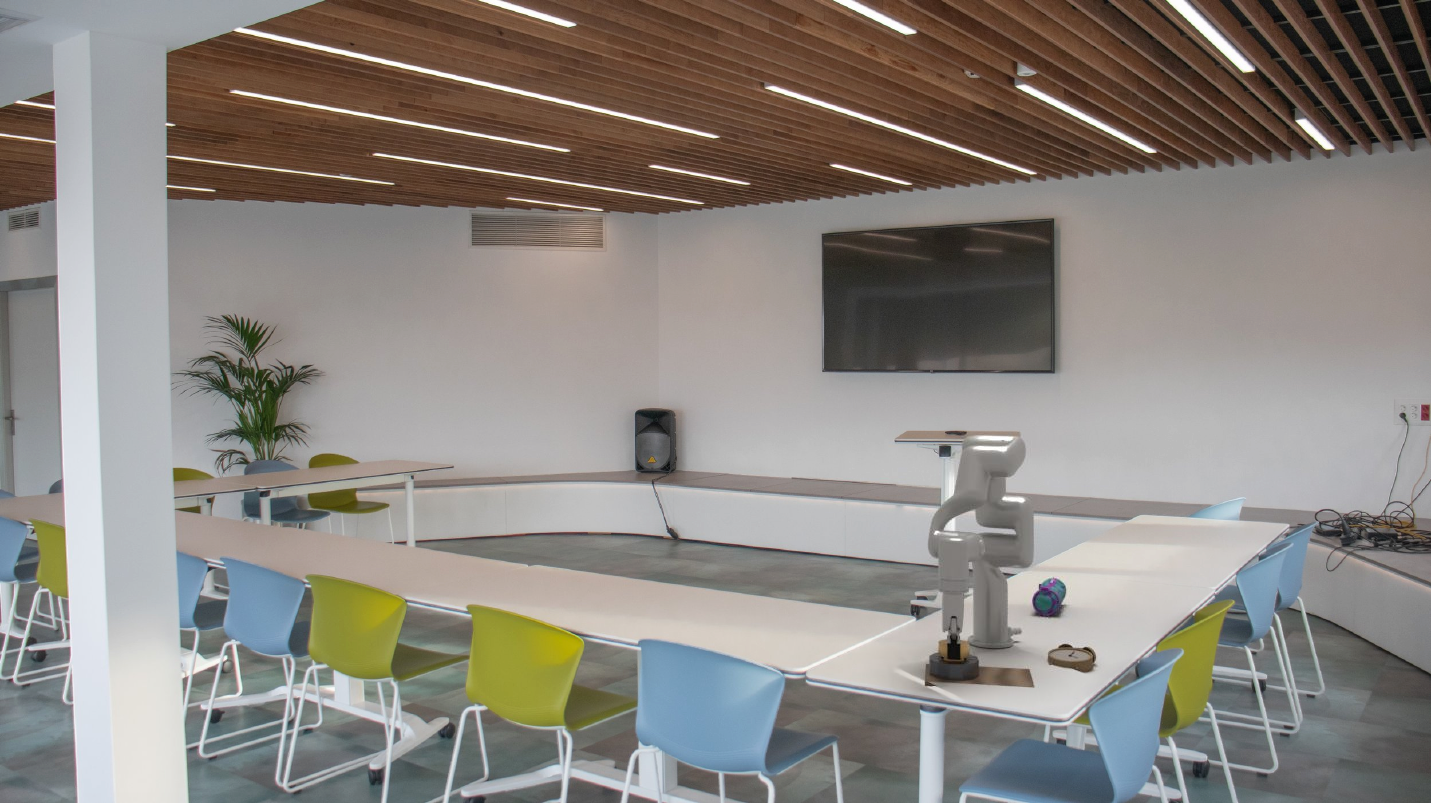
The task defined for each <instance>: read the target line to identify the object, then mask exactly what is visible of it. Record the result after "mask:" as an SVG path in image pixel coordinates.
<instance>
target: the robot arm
mask: <svg viewBox="0 0 1431 803" xmlns="http://www.w3.org/2000/svg"><path fill="white" fill-rule="evenodd" d="M961 450H962V452H961V455H960V458H959V465H958V469H957V470H958V471H957V475H956V480H955V485H954V486H955V487H954V493H953V495H951V496H950V497H949V498H947V499H946V501H944V502H942V504H941V505H940V506H939V508H937V510H936V512H934V515H933V517H932V519H931V522H930V528H929V533H928V539H927V550H928V553H929V555H930V556H931V557H932V558H934V559H937V561H938V562H937V563H938V570H937V571H938V572H937V573H938V574H937V576H938V577H937V578H938V582H937V584H938V587H937V588H938V589H937V590H938V592H940V593H942V596H941V599H942V600H941V622H942V623H941V627H942V629H941V631H942V632H943V633H946V632H947V635H946V636H947V638H946V639H948V643H947V659H949V660H960V659H961V658H960V644H959V640H961V635H960V634H961V633H962V632H963V627H964V618H965V617H964V613H965V611H964V610H965V594H968V593H969V592H970V582H969V581H970V575H969V574H970V564H969V563H971V566H972V583H973V586H972V587H973V589H972V591H973V592H972V594H973V595H972V598H973V599H972V602H973V603H972V610H973V611H972V612H973V613H972V615H973V618H972V620H973V623H972V624H973V625H972V627H973V628H972V629H973V631H972V635H970V636H969V635H968V637H967V642H968V643H969V645H972V646H975V647H979V648H984V649H985V648H986V649H1005V648H1011V647H1012V646H1013V645H1014V639H1013V638H1012V637H1013V636H1017V635H1019V636H1020V635H1021V634H1022V633H1023V631H1022V630H1023V629H1021V627H1013V628H1012V627H1011V626H1009V623H1008V622H1009V621H1008V620H1009V619H1008V618H1009V616H1008V614H1009V612H1008V611H1009V608H1008V606H1009V603H1008V601H1009V600H1008V599H1009V593H1008V591H1009V590H1008V589H1009V588H1008V580H1007V578H1006V576H1005V575H1004V573H1003V572H1002V570H1001V568H1007V569H1008V568H1010V569H1019V570H1020V569H1021V570H1022V569H1023V570H1024V569H1028V568H1029V567H1031V566H1032V564H1033V561H1034V552H1035V550H1034V548H1035V546H1034V545H1035V544H1034V543H1035V542H1034V541H1035V540H1034V539H1035V534H1034V532H1035V531H1034V530H1035V529H1034V528H1035V527H1034V526H1035V525H1034V524H1035V522H1034V521H1035V520H1034V518H1035V517H1034V506H1033V504H1032V501H1031V499H1030V498H1028V497H1026V496H1023V495H1011V494H1010V495H1009V494H1008V493H1007V478H1011V477H1013V476H1014V475H1015V474H1016V473H1017V472H1018V470H1019V468H1020V467H1021V466H1022V464H1023V463H1024V461H1025V458H1026V454H1027V448H1026V443H1025V441H1024V440H1023V438H1022V437H1020V436H1018V435H997V434H995V435H993V434H992V435H991V434H977V435H975V434H974V435H970V436H966V437H965V438H964V439H963V440H962V442H961ZM973 510H974V512H975V513H974V514H975V521H976V523H977V524H978V525H979V526H980V527H983V528H988V529H1003V530H1012V531H1014V532H1015V533H1014V534H1013V533H1004V532H991V531H990V532H989V531H987V532H979V533H977V532H973V531H972V532H971V531H959V530H958V531H957V530H944V529H945V528H946V526H947V525H948V523H949V522H950V521H952V520H953V519H954V518H956V517H958V516H961V515H963V514H965V513H966V514H967V513H968V512H969V513H970V512H972V511H973ZM950 639H951V641H950ZM950 642H951V643H950Z"/></svg>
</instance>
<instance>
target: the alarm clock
mask: <svg viewBox="0 0 1431 803" xmlns="http://www.w3.org/2000/svg"><path fill="white" fill-rule="evenodd" d="M1094 650H1095V649H1093V648H1091V647H1090V646H1083V647H1073V646H1072V645H1071V644H1069V643H1062V644H1060V645H1059V646H1058V647H1056V648H1052V649H1051V650H1048V652H1047V659H1048V660H1047V661H1048V662H1049V663H1048V665H1049V666H1052V665H1053V666H1057V667H1061V668H1062V667H1063V668H1068V669H1071V670H1074V671H1077V672H1080V673H1087V672H1089V671H1091V670H1093V668H1094V663H1095V662H1096V660H1097V655H1096V652H1095V651H1094Z"/></svg>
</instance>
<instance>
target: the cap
mask: <svg viewBox="0 0 1431 803" xmlns="http://www.w3.org/2000/svg"><path fill="white" fill-rule="evenodd" d="M950 641H951V639H950ZM937 643H938V645H937V646H938V649H937V650H938V652H937V653H938V654H939V656H941V657H944V660H946V661H956V662H959V661H964V658H967V657H969V654H970V643H969V642H968V640H967V641H966V640H963V639H960V640H959V644H960V658H961V659H960V660H949V659H947V643H948V639H947V638H945V639H941V640H938V642H937ZM950 643H951V642H950Z"/></svg>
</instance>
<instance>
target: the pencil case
mask: <svg viewBox="0 0 1431 803" xmlns="http://www.w3.org/2000/svg"><path fill="white" fill-rule="evenodd" d="M1066 595H1067V586H1066V584H1065V583H1064V582H1063V581H1062V580H1061V579H1058V578H1057V577H1054V576H1052V577H1051V578H1048V579H1045V580H1044V581H1043V582H1042V583H1038V590H1037V591H1035V592H1034V593H1033V596H1032V599H1031V600H1032V601H1031V602H1032V607H1033V609H1034V611H1035V612H1036V614H1039V615H1041V616H1043V617H1049V616H1051V615H1053V614H1055V613H1057V612H1058V610H1060V608H1061V606H1062V603H1063V601H1064V600H1065V598H1066Z"/></svg>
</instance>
